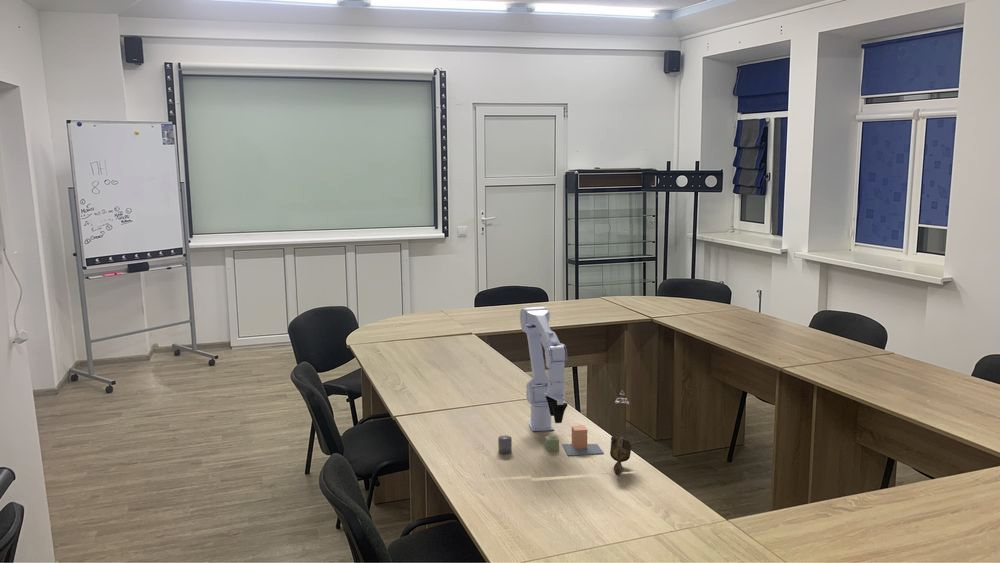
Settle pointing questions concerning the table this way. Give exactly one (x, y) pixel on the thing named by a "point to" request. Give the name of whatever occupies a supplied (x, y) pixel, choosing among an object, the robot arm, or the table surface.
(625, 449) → the brown piece
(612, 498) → the table surface
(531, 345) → the robot arm
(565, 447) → the slate mat
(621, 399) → the house of cards
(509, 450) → the dark grey cylinder
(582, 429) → the terracotta block
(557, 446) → the olive cube
